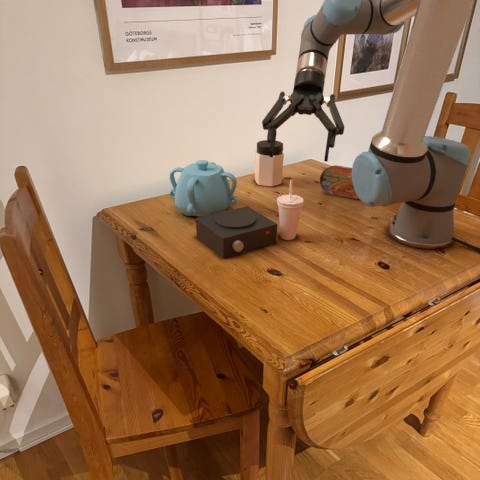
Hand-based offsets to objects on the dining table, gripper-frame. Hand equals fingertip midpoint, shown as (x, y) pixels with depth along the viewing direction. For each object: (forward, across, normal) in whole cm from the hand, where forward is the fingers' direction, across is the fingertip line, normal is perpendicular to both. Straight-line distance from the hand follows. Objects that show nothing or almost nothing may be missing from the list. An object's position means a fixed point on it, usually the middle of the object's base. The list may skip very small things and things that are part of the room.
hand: (298, 156), depth 109 cm
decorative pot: (+12, +25, -12) cm, 30 cm away
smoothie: (+19, 0, -5) cm, 20 cm away
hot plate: (+22, +12, -1) cm, 26 cm away
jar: (-8, +11, -32) cm, 35 cm away
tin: (-4, -13, -28) cm, 31 cm away
